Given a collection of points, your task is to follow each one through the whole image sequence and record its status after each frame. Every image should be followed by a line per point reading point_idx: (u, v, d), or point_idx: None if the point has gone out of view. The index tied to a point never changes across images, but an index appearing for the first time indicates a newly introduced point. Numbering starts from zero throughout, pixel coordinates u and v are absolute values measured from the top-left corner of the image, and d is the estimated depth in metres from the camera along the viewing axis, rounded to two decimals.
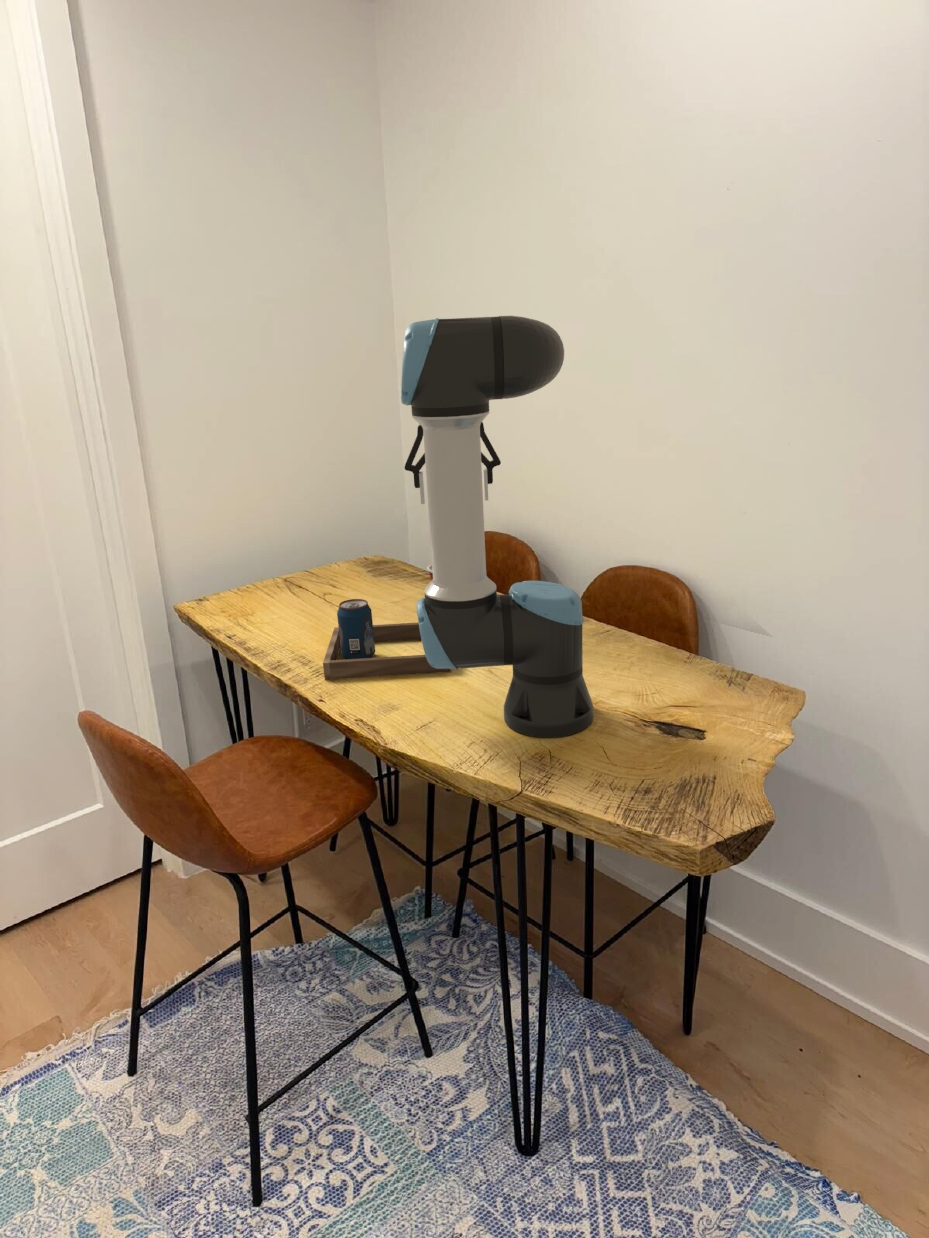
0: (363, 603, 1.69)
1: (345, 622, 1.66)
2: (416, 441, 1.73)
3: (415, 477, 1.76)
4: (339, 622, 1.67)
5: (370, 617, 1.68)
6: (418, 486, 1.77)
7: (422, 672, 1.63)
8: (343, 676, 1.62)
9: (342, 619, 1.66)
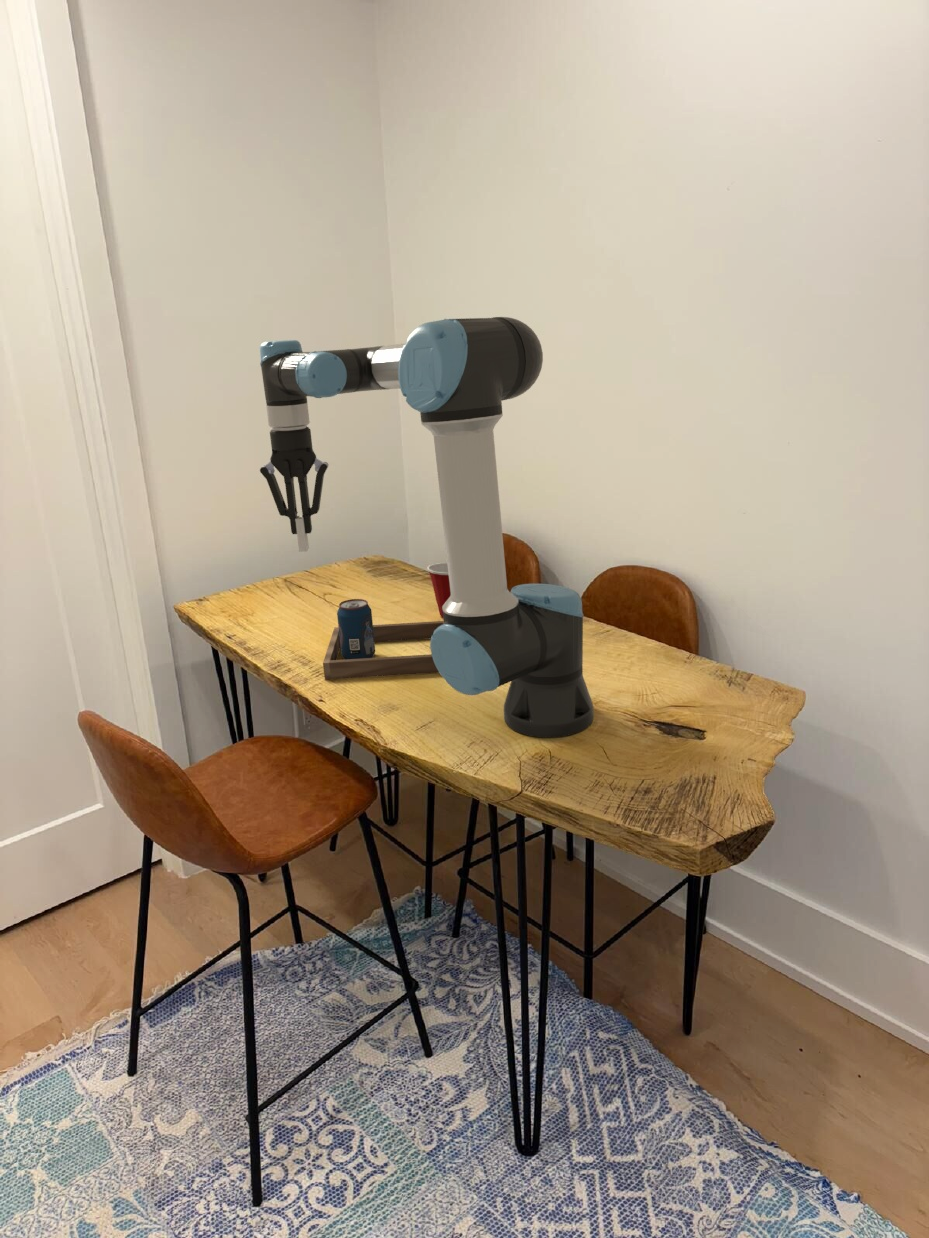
0: (363, 603, 1.69)
1: (345, 622, 1.66)
2: (269, 484, 1.58)
3: (292, 522, 1.61)
4: (339, 622, 1.67)
5: (370, 617, 1.68)
6: (295, 532, 1.62)
7: (422, 672, 1.63)
8: (343, 676, 1.62)
9: (342, 619, 1.66)
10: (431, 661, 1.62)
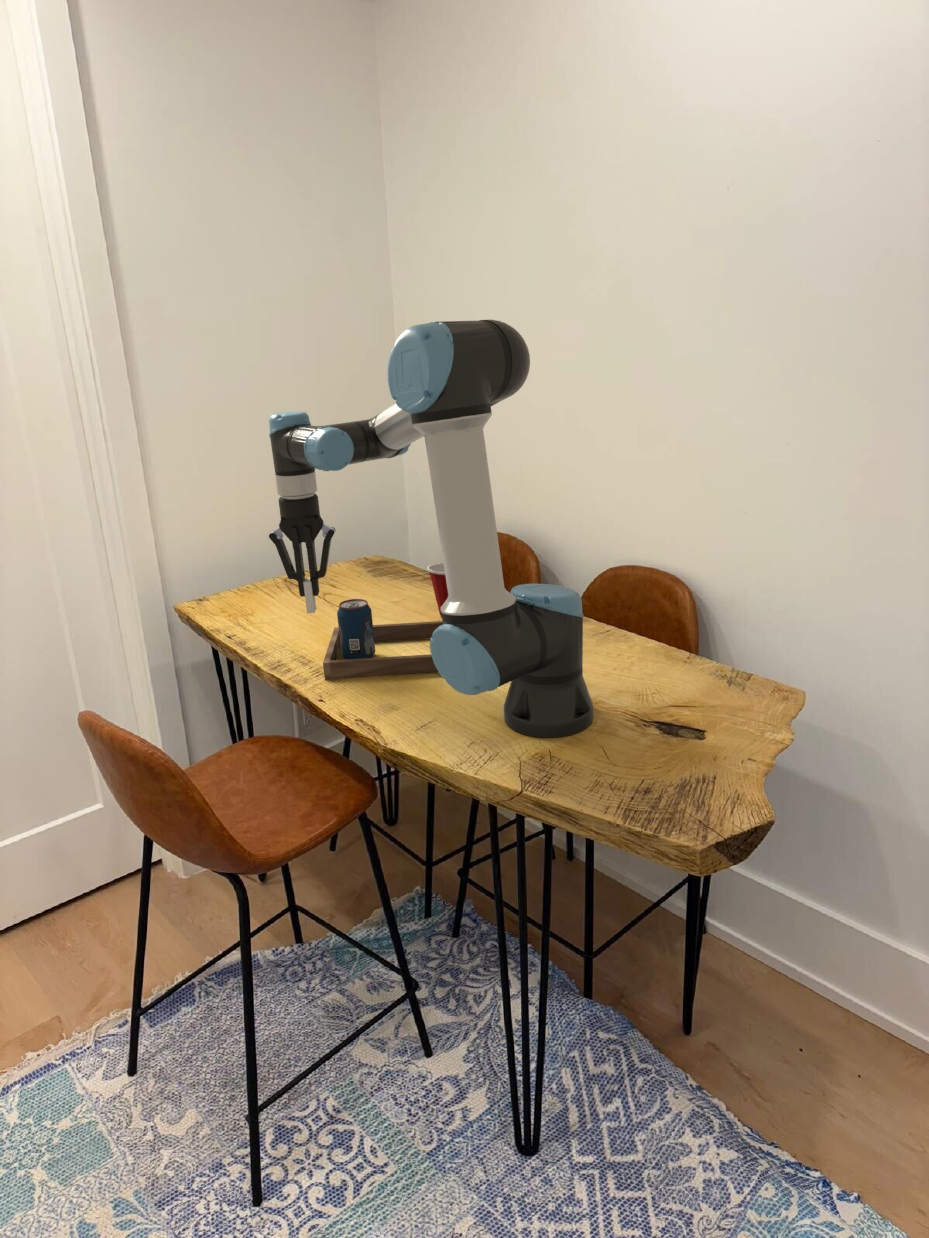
0: (363, 603, 1.69)
1: (345, 622, 1.66)
2: (278, 549, 1.63)
3: (300, 585, 1.66)
4: (339, 622, 1.67)
5: (370, 617, 1.68)
6: (303, 594, 1.66)
7: (422, 672, 1.63)
8: (343, 676, 1.62)
9: (342, 619, 1.66)
10: (431, 661, 1.62)
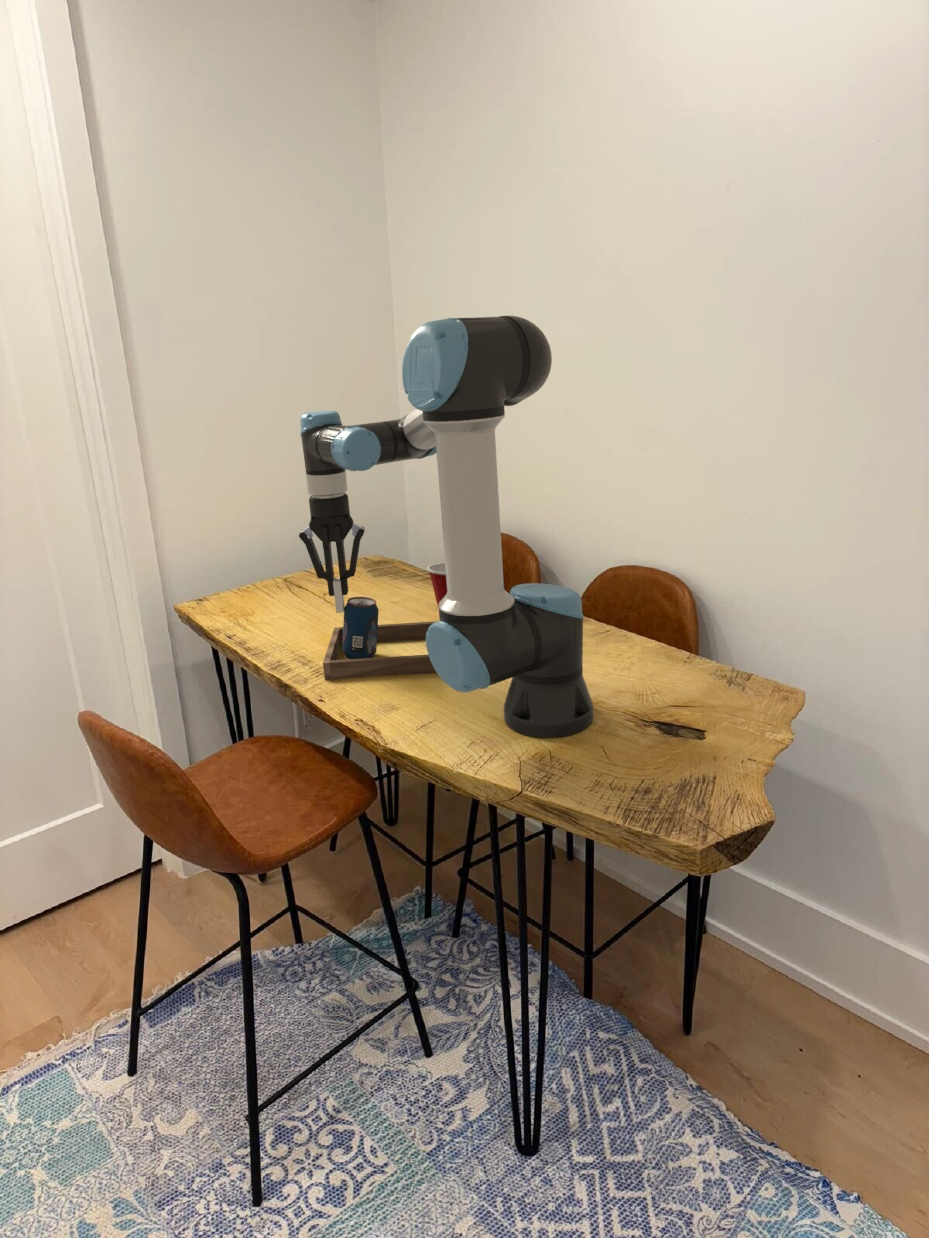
0: (371, 602, 1.69)
1: (351, 618, 1.66)
2: (308, 548, 1.63)
3: (329, 585, 1.66)
4: (345, 617, 1.67)
5: (376, 617, 1.68)
6: (333, 594, 1.66)
7: (422, 672, 1.63)
8: (343, 676, 1.62)
9: (349, 615, 1.66)
10: None
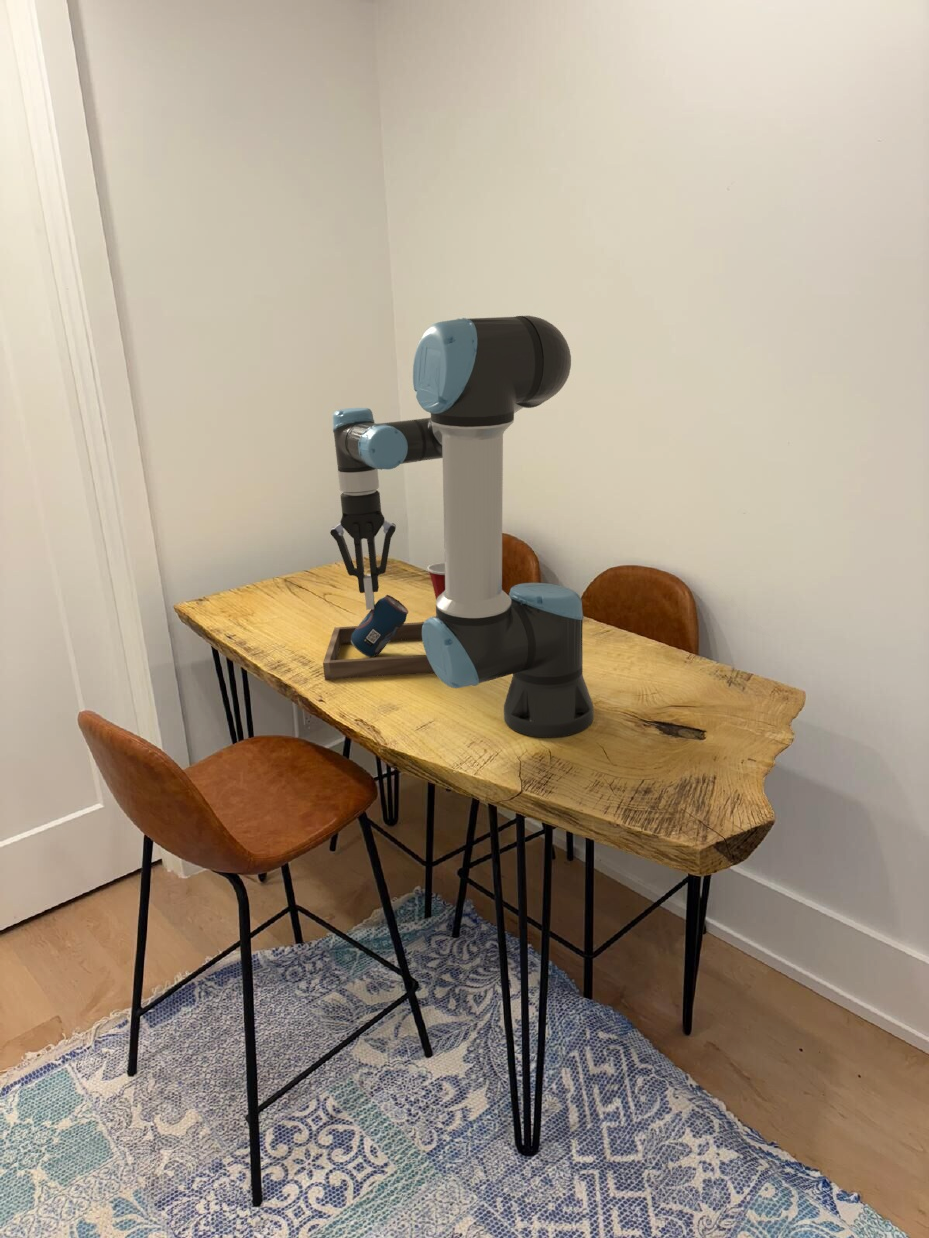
0: (404, 609, 1.70)
1: (382, 613, 1.67)
2: (339, 545, 1.63)
3: (360, 582, 1.66)
4: (375, 609, 1.68)
5: (401, 625, 1.69)
6: (363, 591, 1.67)
7: (422, 672, 1.63)
8: (343, 676, 1.62)
9: (381, 609, 1.67)
10: None
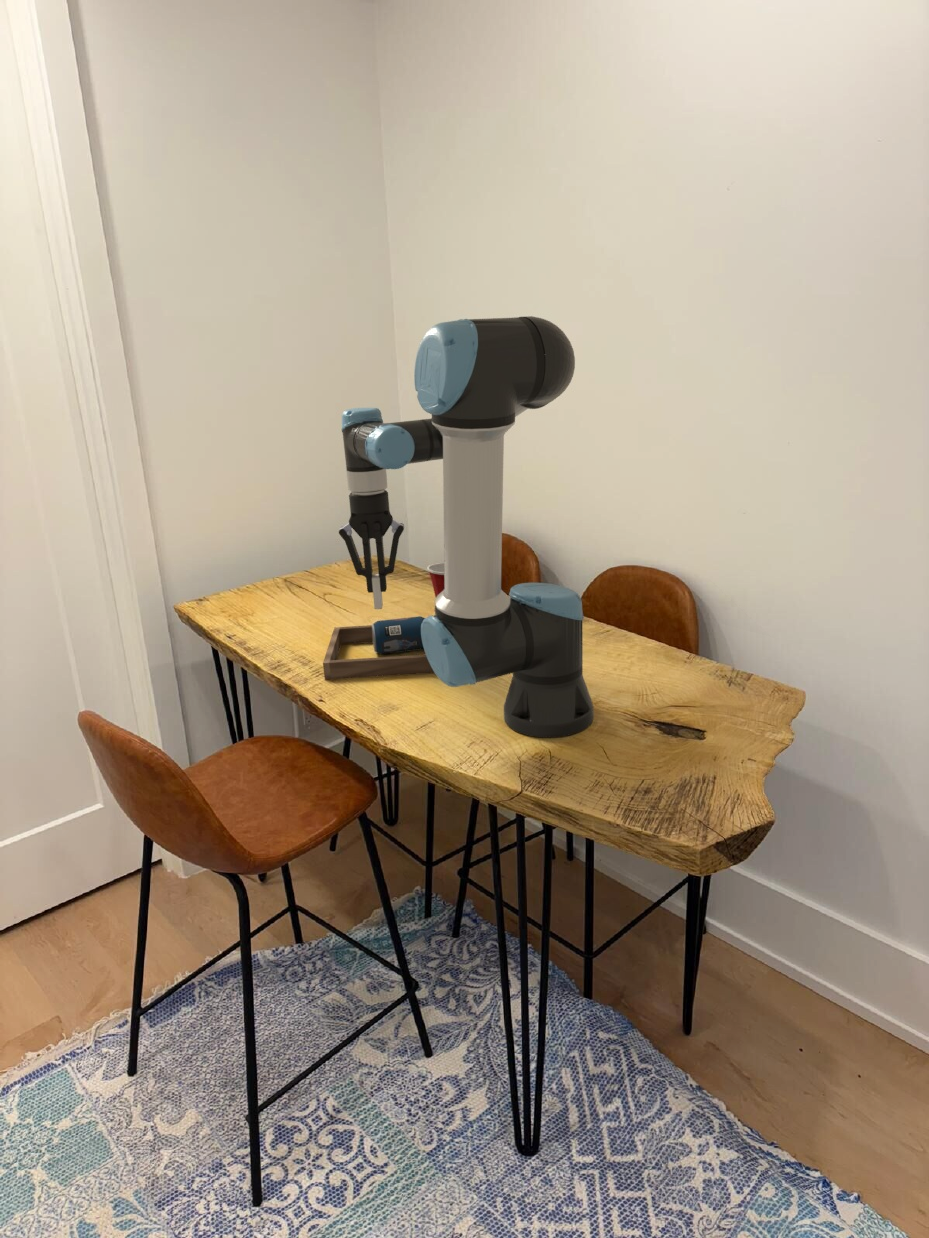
0: None
1: (416, 621, 1.72)
2: (347, 545, 1.63)
3: (368, 581, 1.66)
4: (413, 617, 1.73)
5: (419, 646, 1.73)
6: (371, 591, 1.67)
7: (422, 672, 1.63)
8: (343, 676, 1.62)
9: (418, 619, 1.72)
10: None
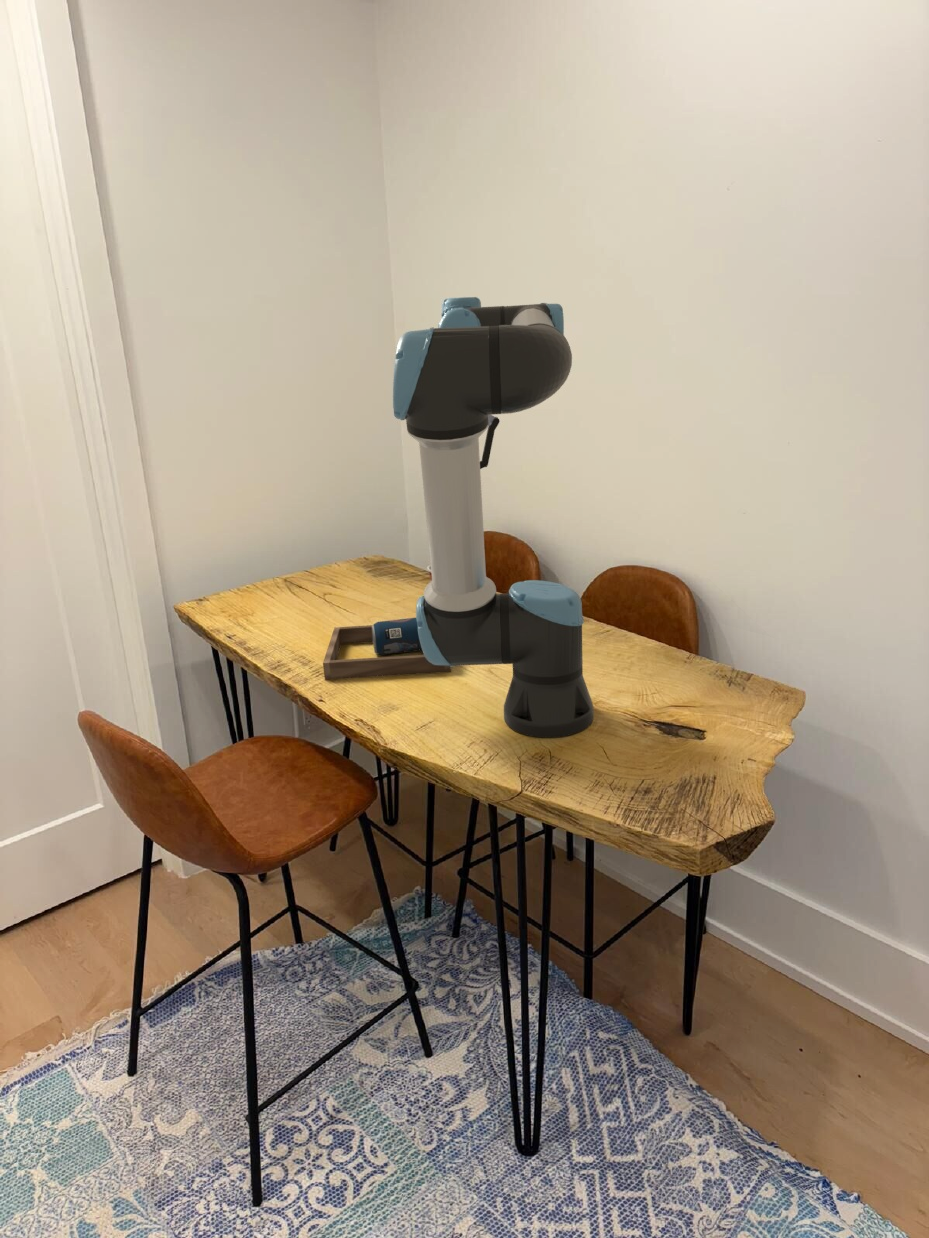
0: None
1: None
2: None
3: None
4: (413, 619, 1.73)
5: (419, 648, 1.72)
6: None
7: (422, 672, 1.63)
8: (343, 676, 1.62)
9: None
10: None
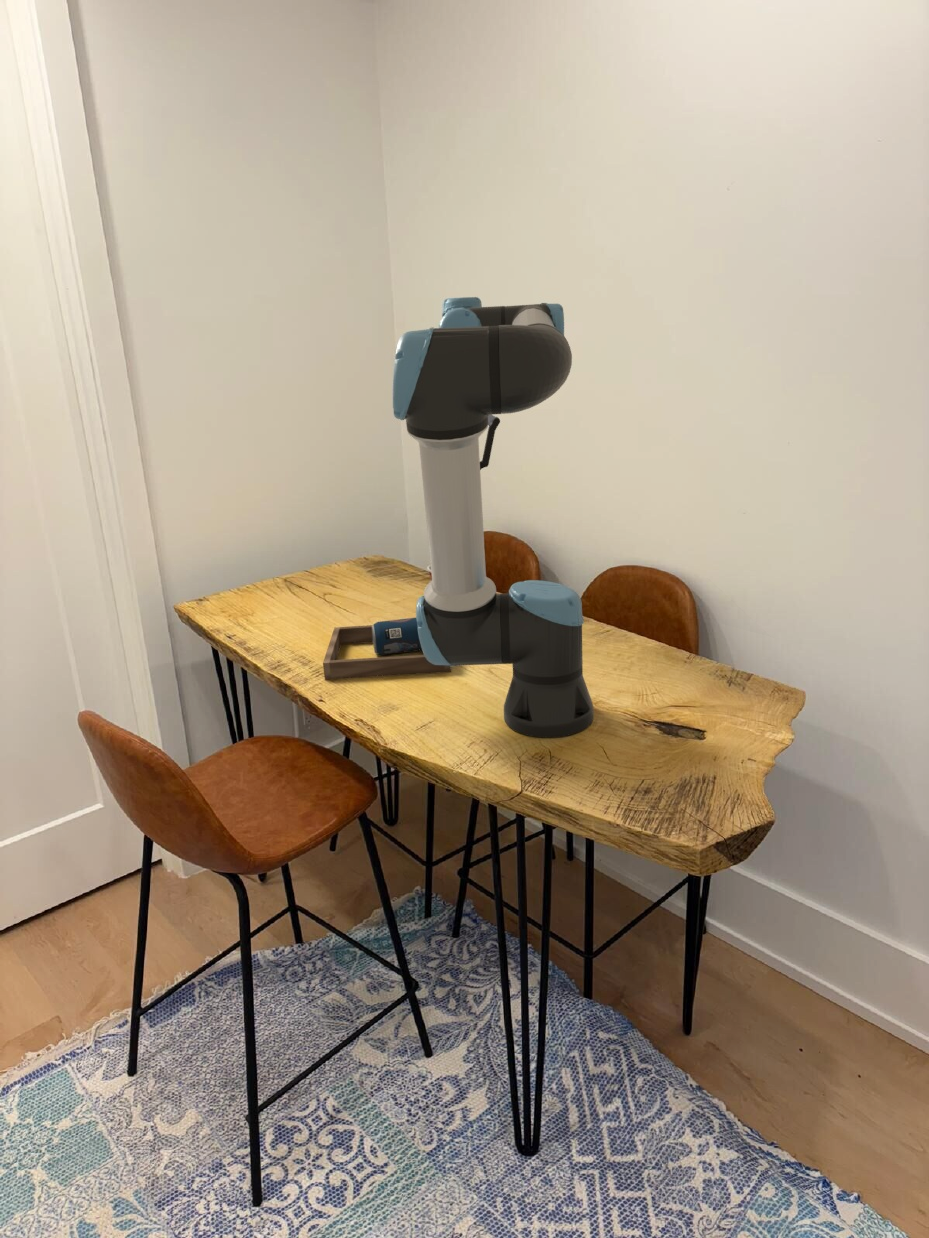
0: None
1: None
2: None
3: None
4: (413, 619, 1.73)
5: (419, 648, 1.72)
6: None
7: (422, 672, 1.63)
8: (343, 676, 1.62)
9: None
10: None
